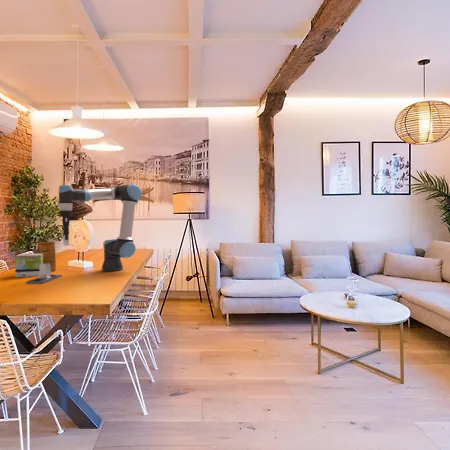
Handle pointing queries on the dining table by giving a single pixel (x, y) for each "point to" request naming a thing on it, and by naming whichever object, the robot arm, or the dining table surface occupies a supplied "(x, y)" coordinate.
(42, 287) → the dining table surface
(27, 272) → the tea box
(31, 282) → the grey flat frame
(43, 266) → the block with top tab
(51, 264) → the coffee package
